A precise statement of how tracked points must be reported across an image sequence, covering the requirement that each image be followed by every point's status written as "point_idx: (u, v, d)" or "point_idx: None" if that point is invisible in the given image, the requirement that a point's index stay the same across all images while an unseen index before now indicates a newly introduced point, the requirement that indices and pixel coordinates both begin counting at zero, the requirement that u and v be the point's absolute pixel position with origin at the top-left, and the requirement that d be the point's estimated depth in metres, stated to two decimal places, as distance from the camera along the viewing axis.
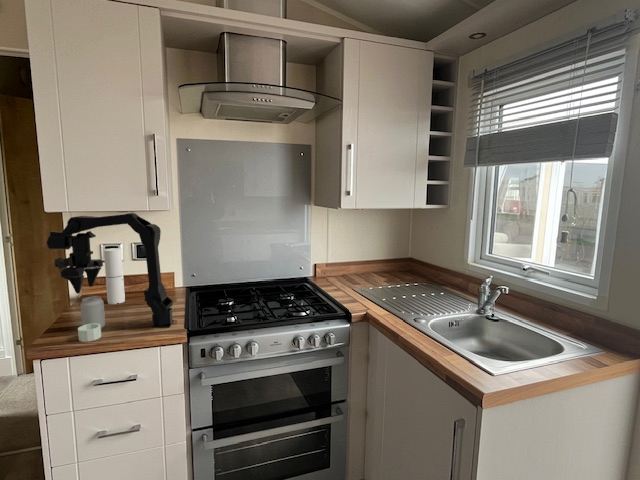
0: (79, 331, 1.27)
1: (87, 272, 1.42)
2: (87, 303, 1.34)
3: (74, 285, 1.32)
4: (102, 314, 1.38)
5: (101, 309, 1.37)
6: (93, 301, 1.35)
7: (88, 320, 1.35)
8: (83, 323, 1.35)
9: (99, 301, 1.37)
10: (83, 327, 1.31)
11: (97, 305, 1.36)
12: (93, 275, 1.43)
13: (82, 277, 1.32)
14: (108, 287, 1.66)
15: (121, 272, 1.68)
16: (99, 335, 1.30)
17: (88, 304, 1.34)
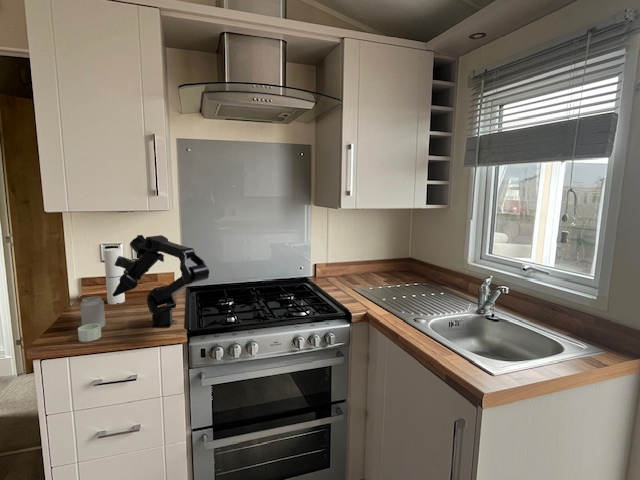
0: (79, 331, 1.27)
1: None
2: (87, 303, 1.34)
3: (118, 289, 1.35)
4: (102, 314, 1.38)
5: (101, 309, 1.37)
6: (93, 301, 1.35)
7: (88, 320, 1.35)
8: (83, 323, 1.35)
9: (99, 301, 1.37)
10: (83, 327, 1.31)
11: (97, 305, 1.36)
12: None
13: (131, 288, 1.36)
14: (108, 287, 1.66)
15: (121, 272, 1.68)
16: (99, 335, 1.30)
17: (88, 304, 1.34)
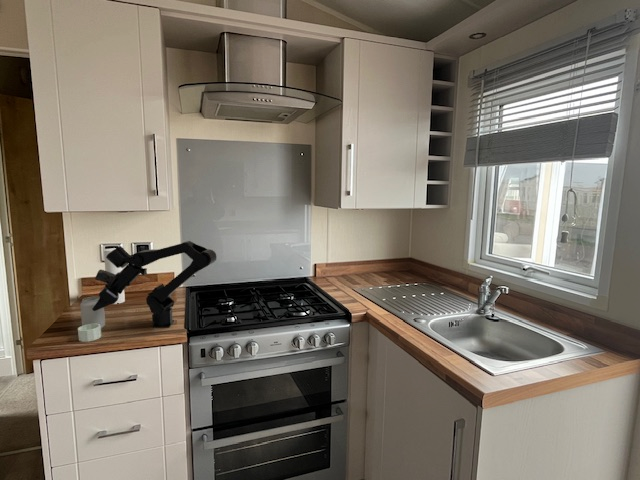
0: (79, 331, 1.27)
1: None
2: (87, 303, 1.34)
3: (98, 303, 1.33)
4: (102, 314, 1.38)
5: (101, 309, 1.37)
6: (93, 301, 1.35)
7: (88, 320, 1.35)
8: (83, 323, 1.35)
9: None
10: (83, 327, 1.31)
11: None
12: None
13: None
14: None
15: None
16: (99, 335, 1.30)
17: (87, 304, 1.34)
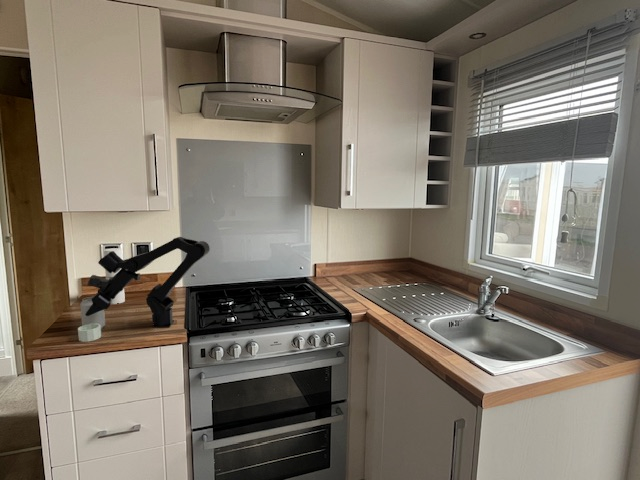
0: (79, 331, 1.27)
1: None
2: (87, 303, 1.34)
3: (91, 309, 1.33)
4: (102, 314, 1.38)
5: None
6: None
7: (88, 320, 1.35)
8: (83, 323, 1.35)
9: None
10: (83, 327, 1.31)
11: None
12: None
13: None
14: None
15: None
16: (99, 335, 1.30)
17: (88, 304, 1.34)
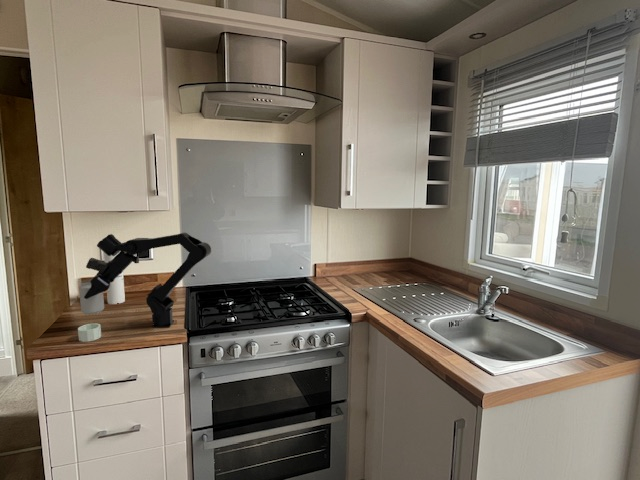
0: (79, 331, 1.27)
1: None
2: (86, 286, 1.33)
3: (90, 291, 1.32)
4: (101, 297, 1.37)
5: None
6: None
7: (87, 303, 1.34)
8: (82, 306, 1.34)
9: None
10: (83, 327, 1.31)
11: None
12: None
13: None
14: None
15: None
16: (99, 335, 1.30)
17: (86, 287, 1.33)
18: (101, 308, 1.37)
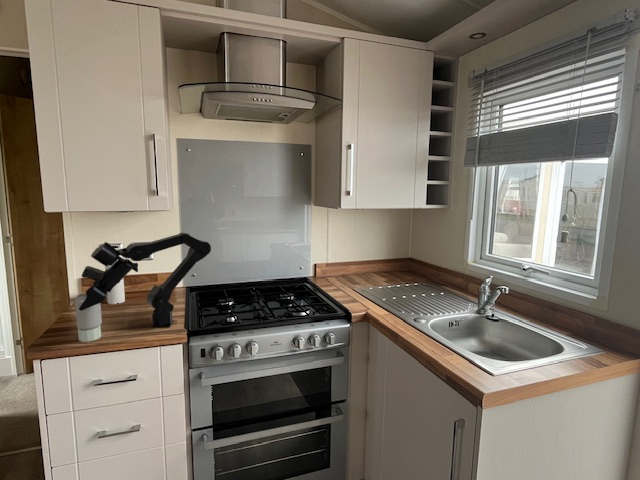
0: (79, 331, 1.27)
1: None
2: (82, 300, 1.25)
3: (85, 303, 1.23)
4: (98, 312, 1.29)
5: (97, 306, 1.28)
6: None
7: (83, 318, 1.26)
8: (78, 321, 1.26)
9: None
10: None
11: None
12: None
13: None
14: None
15: None
16: (99, 335, 1.30)
17: (83, 301, 1.25)
18: (98, 323, 1.29)
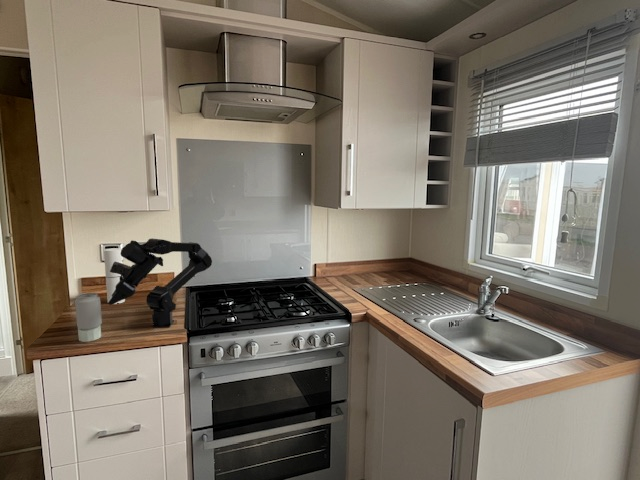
0: (79, 331, 1.27)
1: None
2: (82, 300, 1.25)
3: (114, 297, 1.27)
4: (98, 312, 1.29)
5: (97, 306, 1.28)
6: (89, 298, 1.26)
7: (83, 318, 1.26)
8: (78, 321, 1.26)
9: (95, 298, 1.28)
10: None
11: (93, 302, 1.27)
12: None
13: None
14: (108, 287, 1.66)
15: None
16: (99, 335, 1.30)
17: (83, 301, 1.25)
18: (98, 323, 1.29)
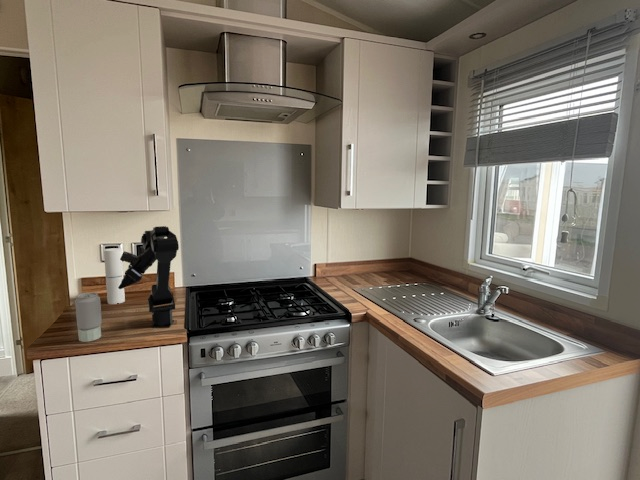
0: (79, 331, 1.27)
1: None
2: (82, 300, 1.25)
3: (124, 282, 1.44)
4: (98, 312, 1.29)
5: (97, 306, 1.28)
6: (89, 298, 1.26)
7: (83, 318, 1.26)
8: (78, 321, 1.26)
9: (95, 298, 1.28)
10: None
11: (93, 302, 1.27)
12: None
13: None
14: (108, 287, 1.66)
15: (121, 272, 1.68)
16: (99, 335, 1.30)
17: (83, 301, 1.25)
18: (98, 323, 1.29)
